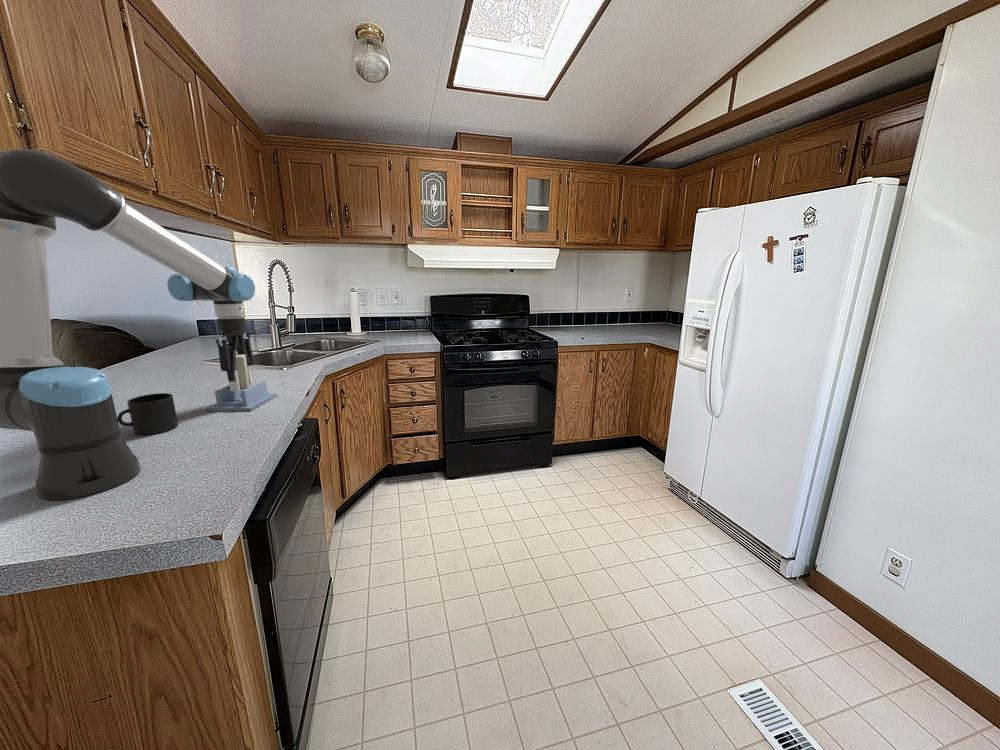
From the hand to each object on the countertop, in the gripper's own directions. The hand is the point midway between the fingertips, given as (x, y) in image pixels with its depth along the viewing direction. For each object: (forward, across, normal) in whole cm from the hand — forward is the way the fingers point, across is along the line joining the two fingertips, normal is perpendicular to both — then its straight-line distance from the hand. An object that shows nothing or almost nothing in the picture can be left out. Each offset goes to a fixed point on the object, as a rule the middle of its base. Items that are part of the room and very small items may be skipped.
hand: (241, 387), depth 132 cm
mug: (+6, -24, +11) cm, 27 cm away
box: (+1, 0, 0) cm, 1 cm away
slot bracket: (+6, 0, 0) cm, 6 cm away
